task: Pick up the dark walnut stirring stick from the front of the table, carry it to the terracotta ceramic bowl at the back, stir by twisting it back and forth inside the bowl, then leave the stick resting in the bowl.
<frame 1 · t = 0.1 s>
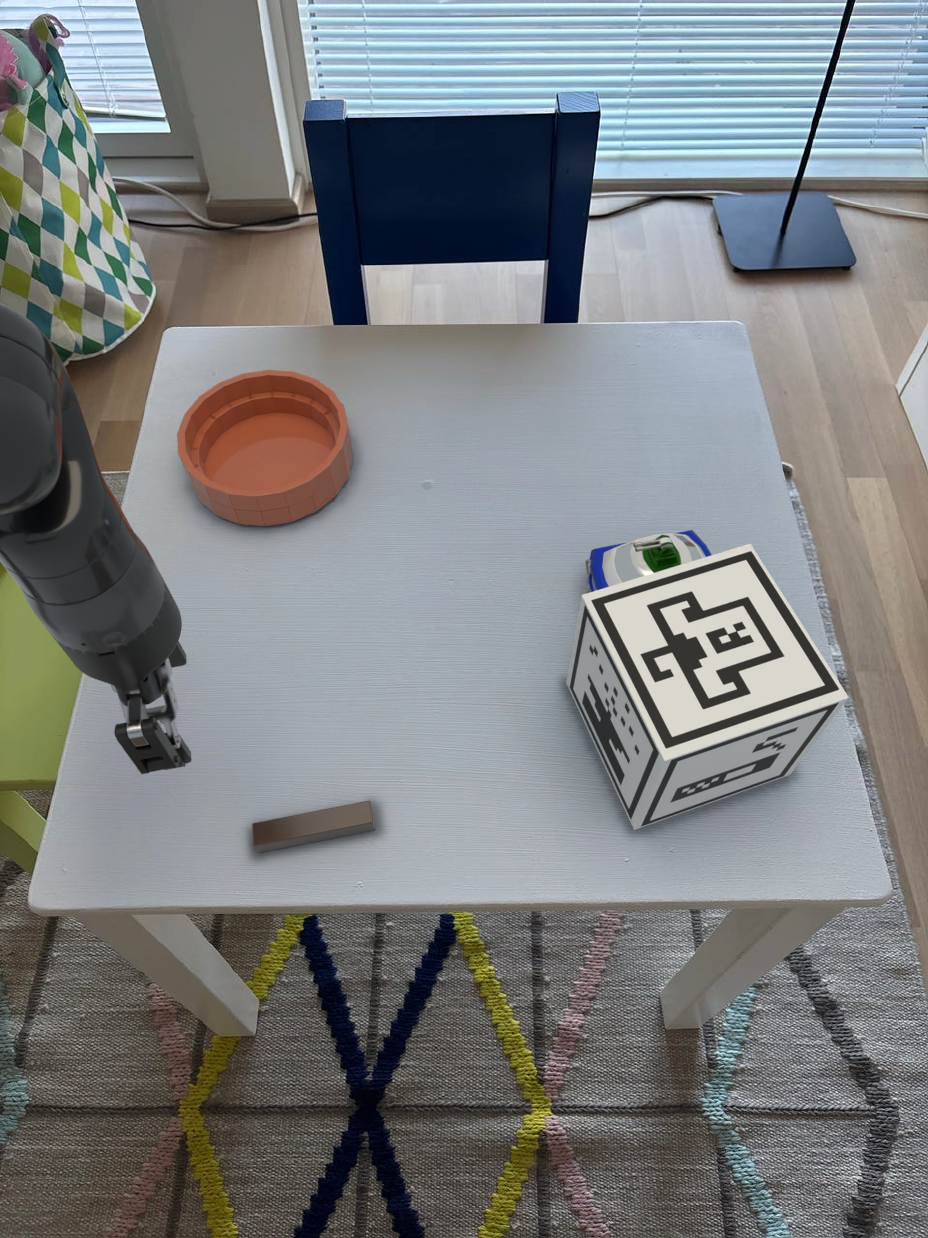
hand: (176, 711, 71), 12 cm above the table, tool pointing down, fingers open, 8 cm apart
block: (674, 728, 83), on the table
toy car: (648, 598, 90), on the table
stick: (316, 830, 78), on the table
bowl: (272, 465, 100), on the table
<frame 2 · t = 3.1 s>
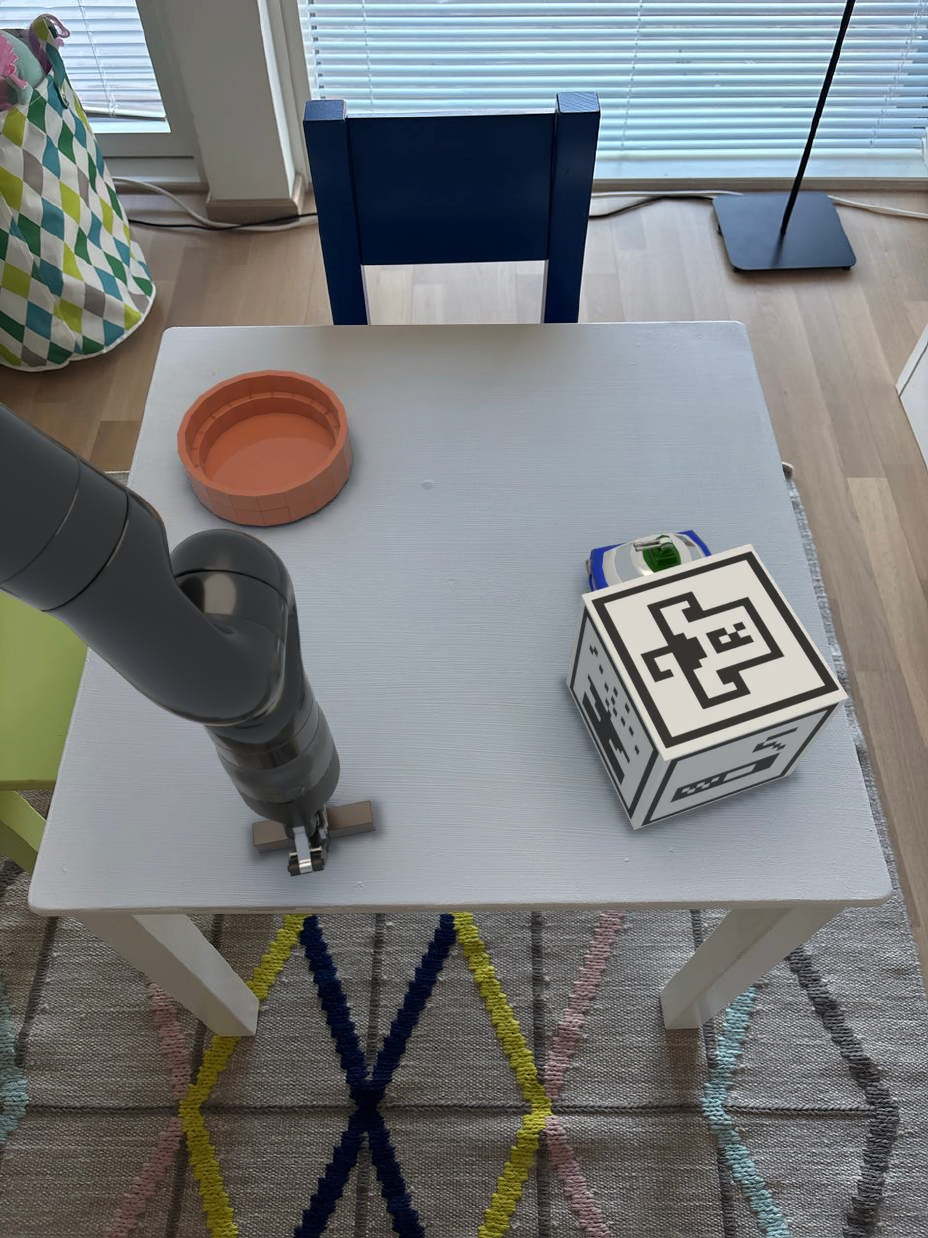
hand: (316, 830, 78), 0 cm above the table, tool pointing down, fingers closed on stick, 2 cm apart
stick: (316, 830, 78), on the table, touching gripper
everything else where it was.
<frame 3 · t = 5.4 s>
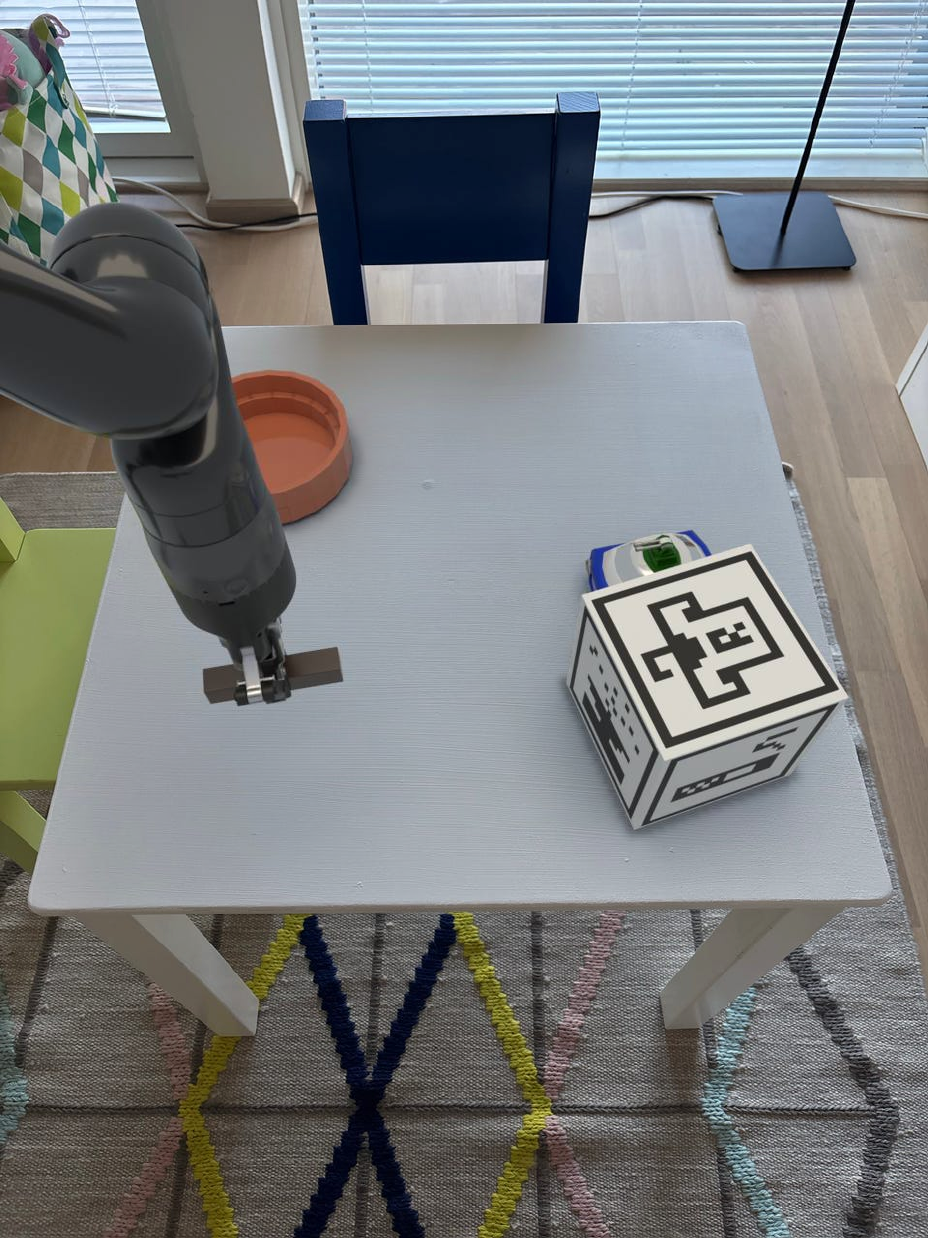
hand: (275, 681, 69), 15 cm above the table, tool pointing down, fingers closed on stick
stick: (276, 681, 69), point 15 cm above the table, touching gripper
everything else where it was.
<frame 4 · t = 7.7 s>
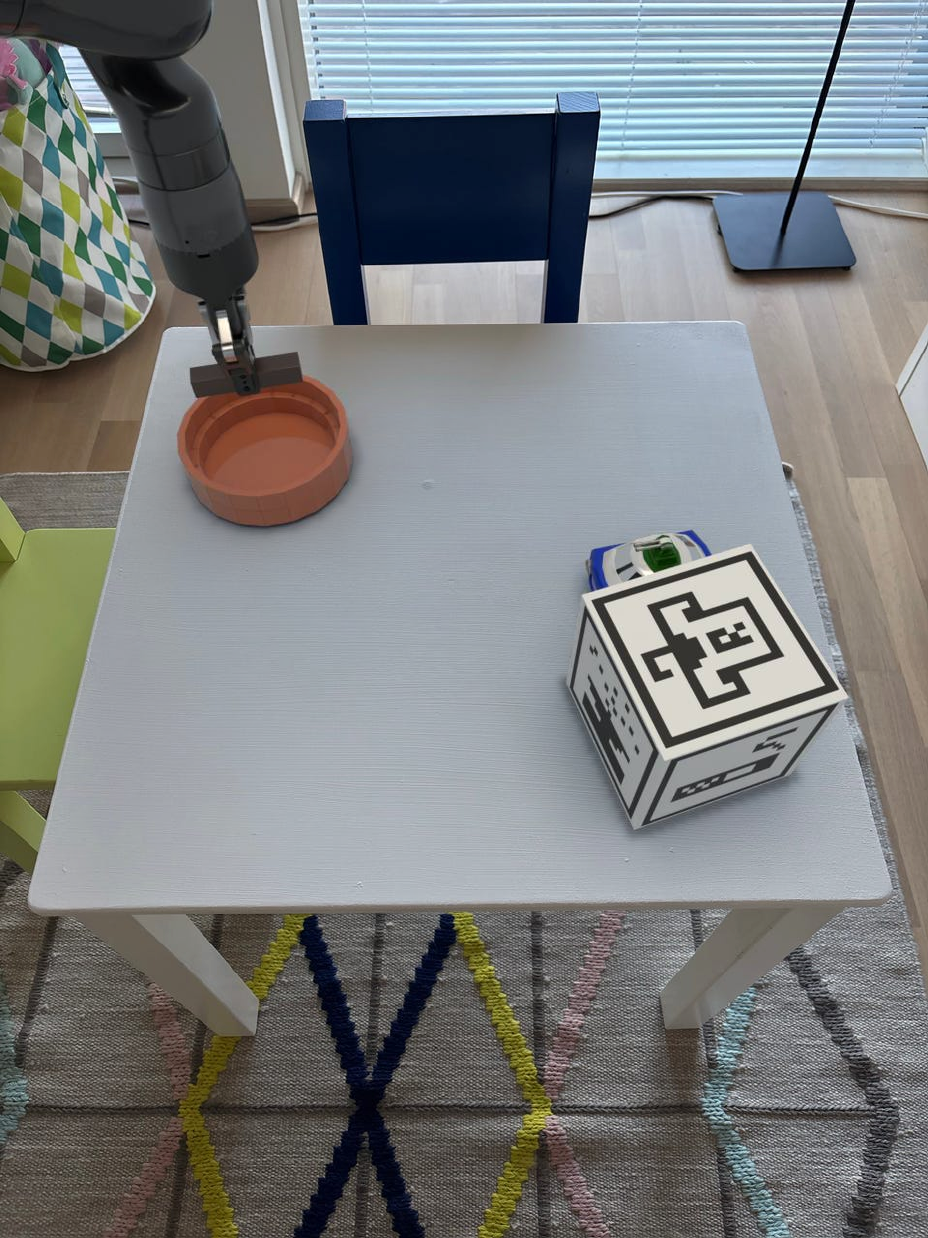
hand: (248, 382, 86), 15 cm above the table, tool pointing down, fingers closed on stick
stick: (249, 382, 86), point 15 cm above the table, touching gripper
everything else where it was.
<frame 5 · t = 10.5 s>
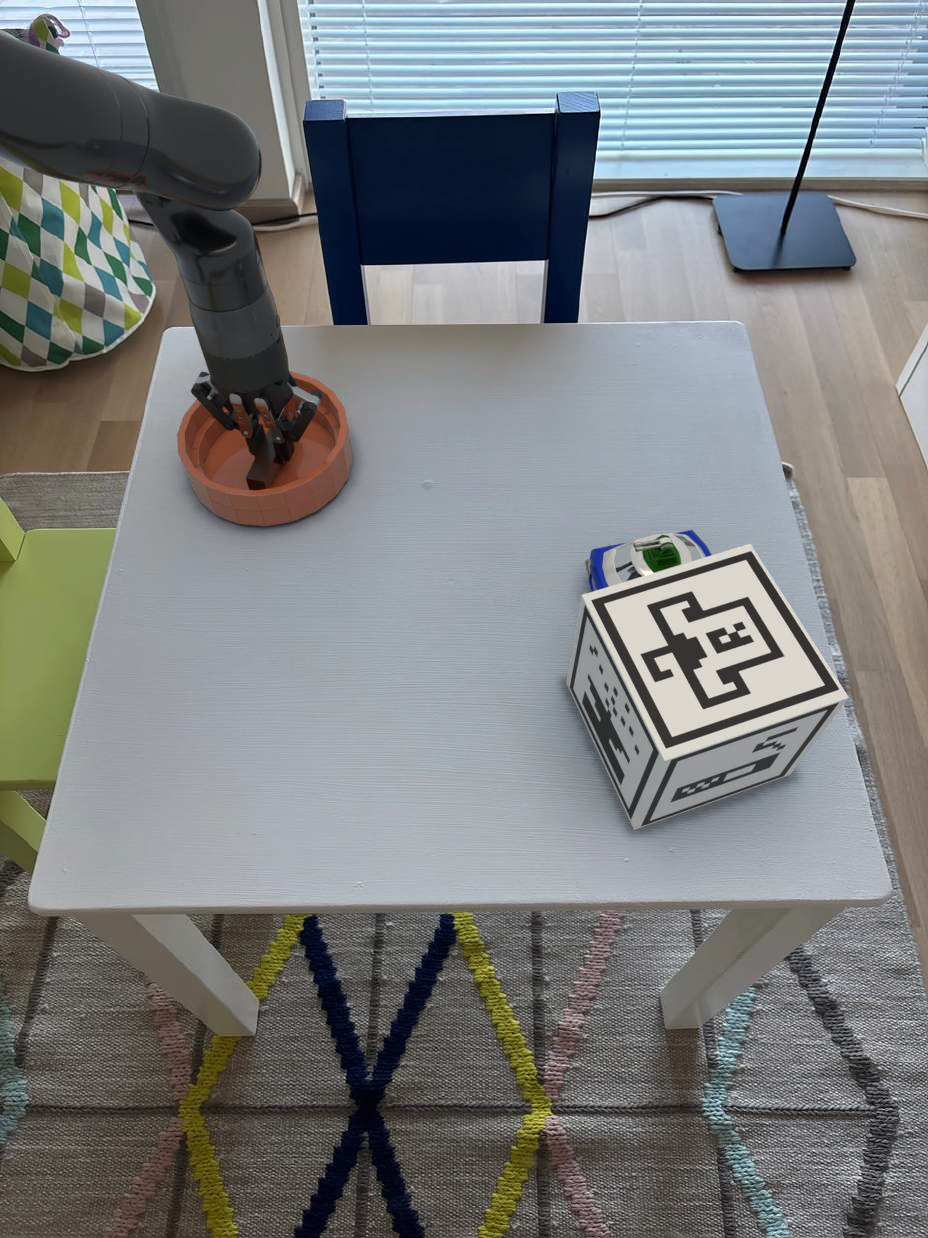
hand: (274, 456, 98), 2 cm above the table, tool pointing down, fingers closed on stick, 2 cm apart
stick: (274, 457, 98), point 2 cm above the table, touching gripper
everything else where it was.
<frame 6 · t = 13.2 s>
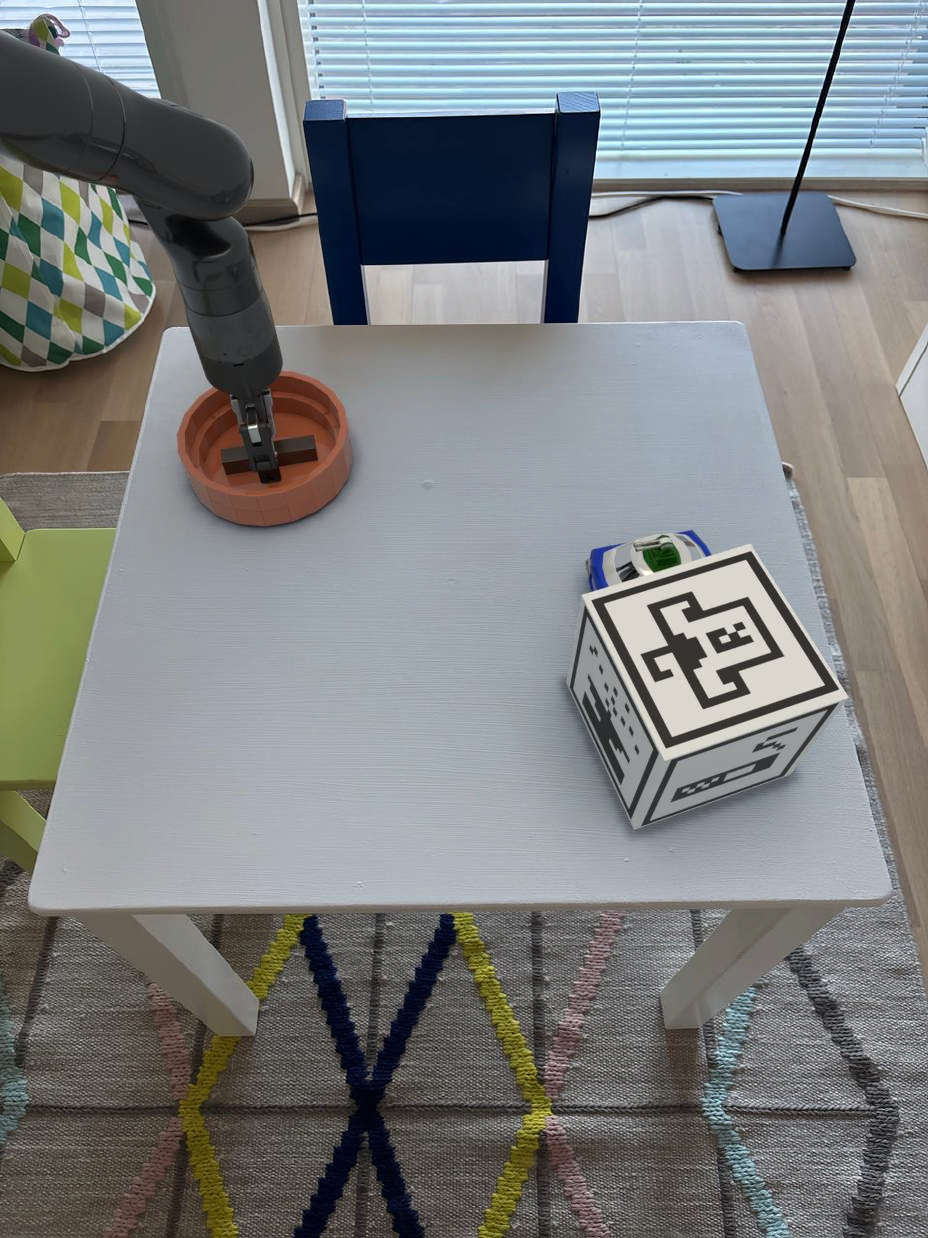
hand: (268, 450, 98), 2 cm above the table, tool pointing down, fingers open, 8 cm apart
stick: (271, 460, 99), point 1 cm above the table, touching bowl
everything else where it was.
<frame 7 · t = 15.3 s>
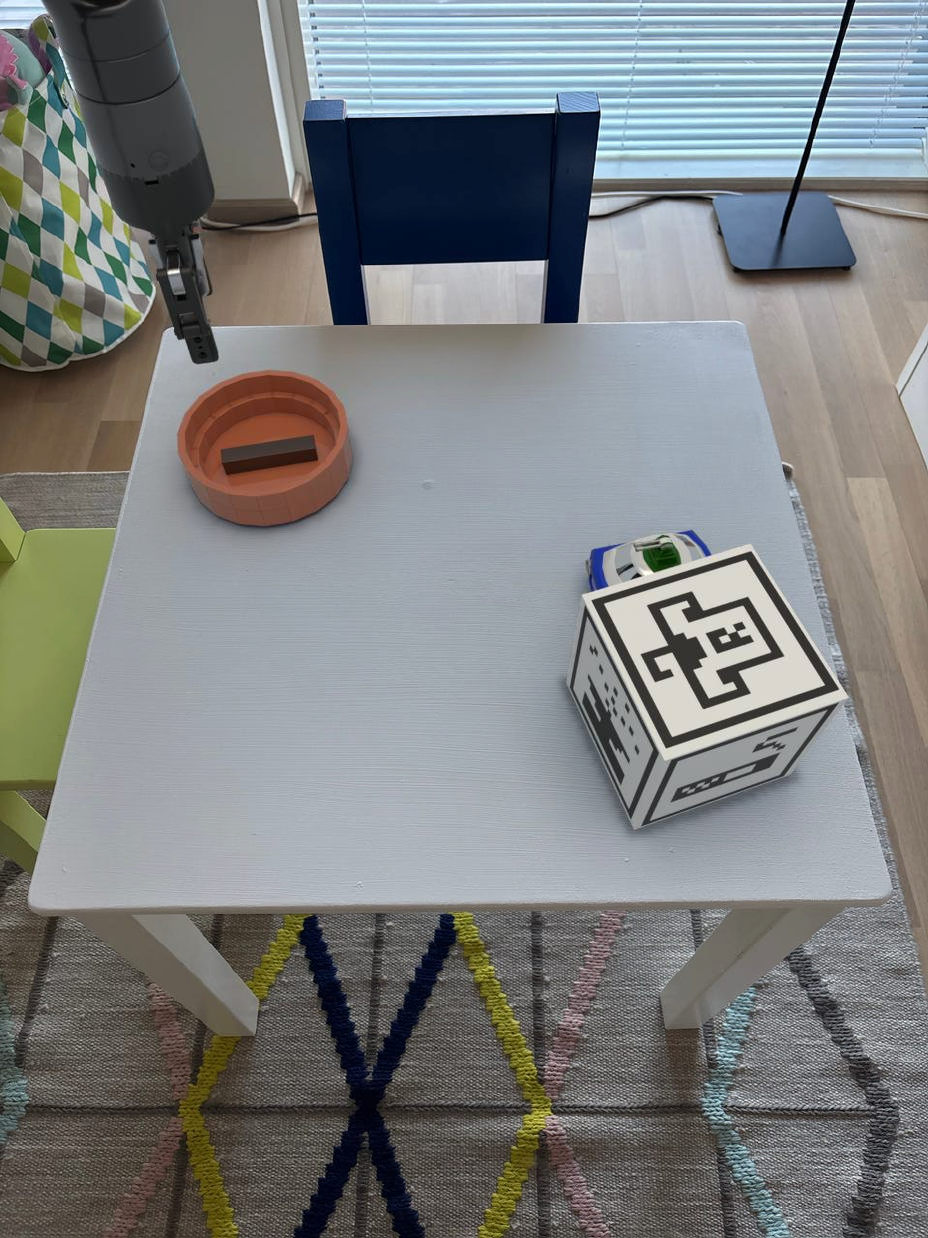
hand: (203, 326, 78), 23 cm above the table, tool pointing down, fingers open, 8 cm apart
nothing on the table moved.
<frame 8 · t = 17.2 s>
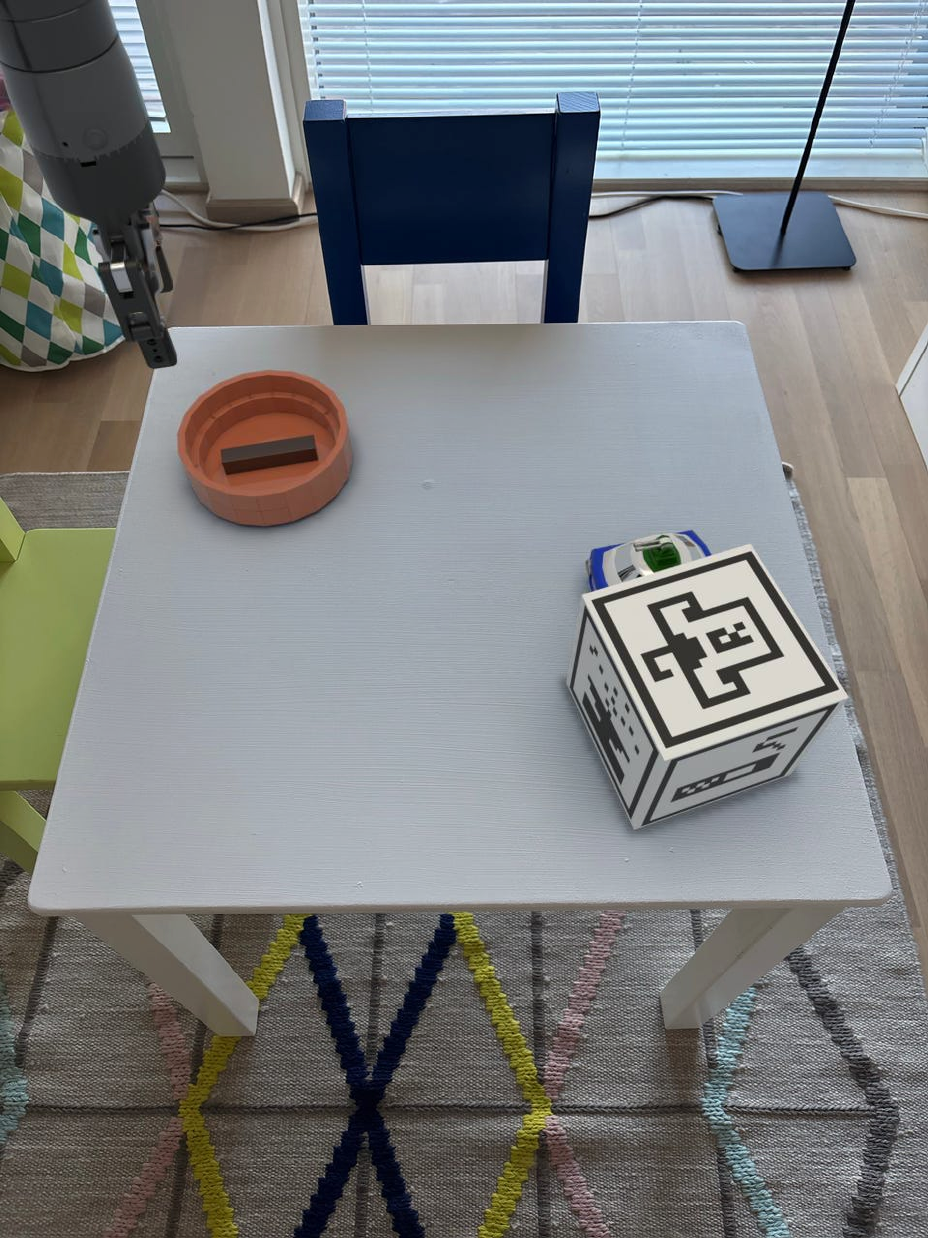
hand: (162, 326, 70), 28 cm above the table, tool pointing down, fingers open, 8 cm apart
nothing on the table moved.
at the end: stick moved 42.1 cm from its start; stick inside the target area in the bowl (0.1 cm from its centre), point 0.6 cm above the bowl's base; the gripper is holding nothing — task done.
